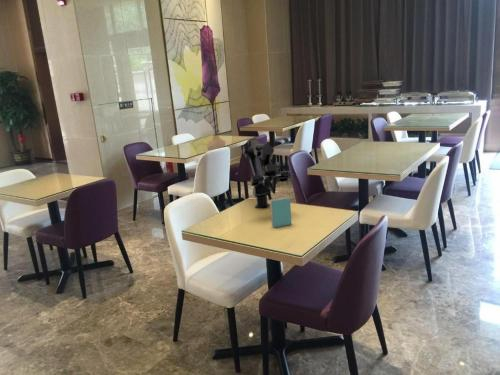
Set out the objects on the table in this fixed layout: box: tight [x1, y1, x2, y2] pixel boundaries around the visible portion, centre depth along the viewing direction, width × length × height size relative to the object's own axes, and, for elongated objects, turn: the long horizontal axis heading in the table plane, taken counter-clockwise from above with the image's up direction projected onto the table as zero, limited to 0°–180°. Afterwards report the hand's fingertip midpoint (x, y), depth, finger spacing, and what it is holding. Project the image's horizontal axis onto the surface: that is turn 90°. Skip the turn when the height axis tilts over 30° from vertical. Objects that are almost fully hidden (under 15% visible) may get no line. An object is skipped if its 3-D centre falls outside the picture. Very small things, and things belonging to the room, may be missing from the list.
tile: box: [269, 196, 293, 229], centre depth 199 cm, size 2×9×13 cm, turn 105°
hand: (274, 193), depth 205 cm, fingers closed
